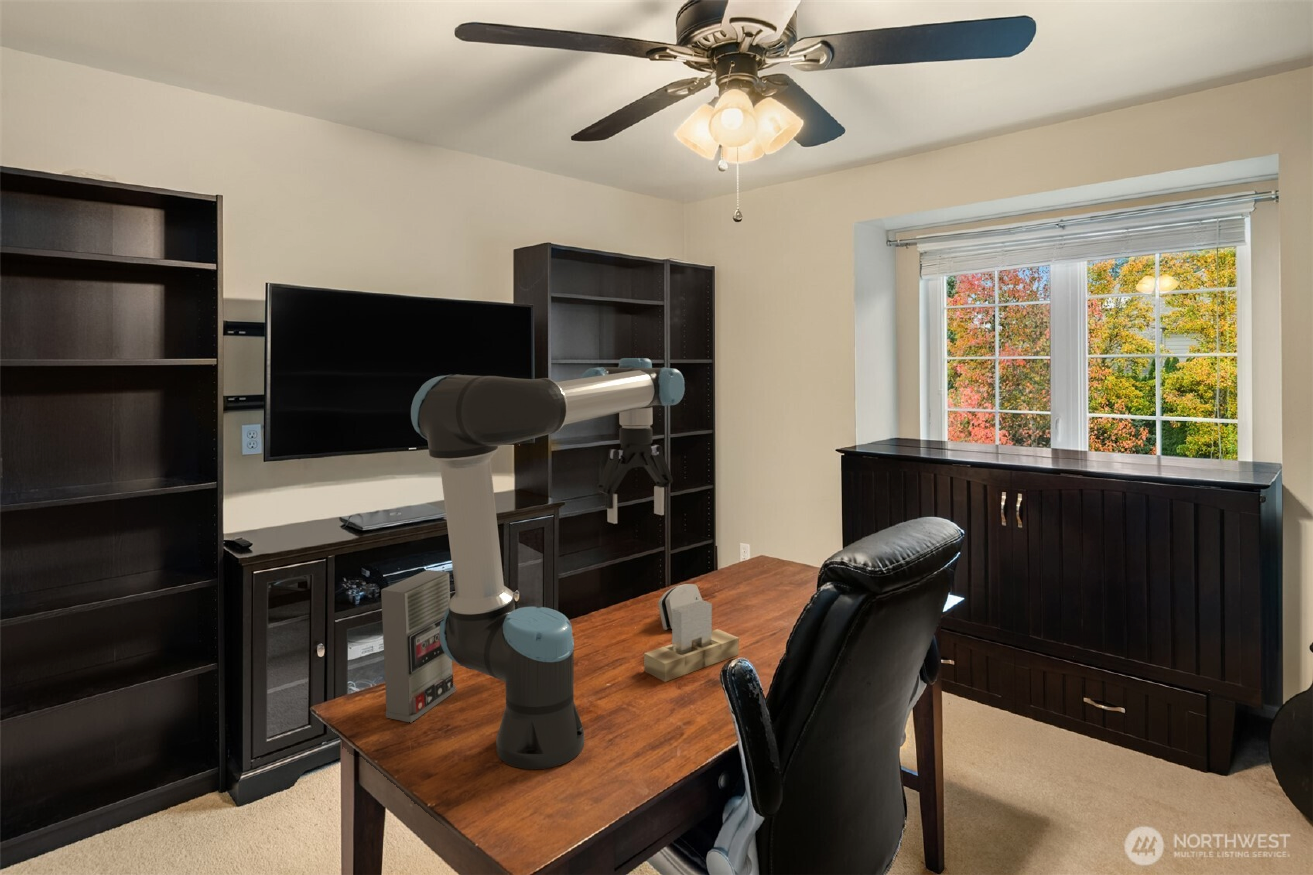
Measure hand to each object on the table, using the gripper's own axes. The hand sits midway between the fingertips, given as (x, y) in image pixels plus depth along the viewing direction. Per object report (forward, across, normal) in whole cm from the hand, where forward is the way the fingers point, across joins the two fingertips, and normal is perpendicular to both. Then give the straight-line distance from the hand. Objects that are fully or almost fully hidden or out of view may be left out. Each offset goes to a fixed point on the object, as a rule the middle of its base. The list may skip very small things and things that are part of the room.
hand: (636, 518), depth 168 cm
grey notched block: (+31, -4, +15) cm, 34 cm away
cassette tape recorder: (+31, +50, -4) cm, 59 cm away
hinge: (+31, -20, -6) cm, 37 cm away
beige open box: (+31, -4, +15) cm, 34 cm away
